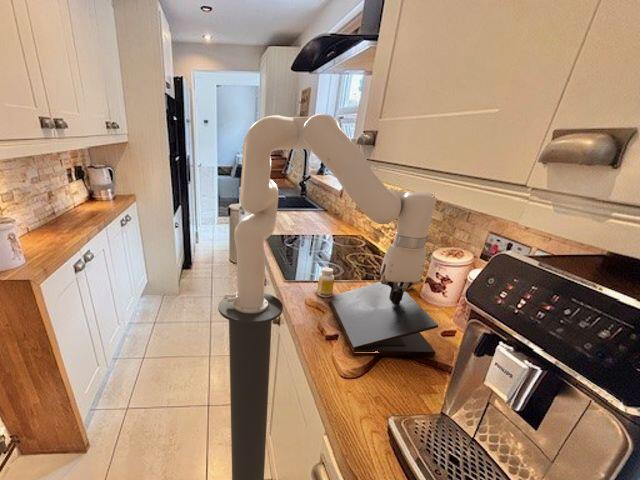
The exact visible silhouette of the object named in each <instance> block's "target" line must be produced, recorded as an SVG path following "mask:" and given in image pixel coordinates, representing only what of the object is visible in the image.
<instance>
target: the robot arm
mask: <svg viewBox="0 0 640 480" xmlns="http://www.w3.org/2000/svg"><path fill="white" fill-rule="evenodd" d="M285 150H310V151H311V153H313V154H314V156H316V157H317V159H319V161H320V162H321V163H322V164H323V165H324V167H326V168H327V169H328V170H329V172H330V173H331V174H332V175H333V176H334V177H335V178H336V180H337V181H338V183H339V185H340V186H341V187H342V188H343V189H344V191H345V192H346V193H347V195H348V196H349V198H350V199H351V201H353V202H354V204H355V205H356V206H357V207H358V208H359V209H360V210H361V211H362V213H363V214H365V216H366V217H367V218H368V219H369V220H371V221H372V222H373V223H375V224H378V225H388V224H390V223H393V222H394V221H396V219H398V220H397V223H396V224H397V225H396V229H395V233H394V237H393V243H392V242H391V243H389V245H388V247H387V250H386V252H385V254H384V257H383V259H382V260H383V261H382V264H381V266H380V272H379V274H380V276H381V277H380V279H379V282H381V284H385V285H389V286H390V287H391V292H390V296H389V299H390V300H391V302H392V303H393V304H400V301H401V300H402V297H403V293H404V292H405V291H406V292H407V290H409V289H408V288H409V287H410V286H412V285H414V286H417V285H419V284H421V280H422V278H423V275H424V271H425V266H426V259H427V247H426V244H427V243H431V241H432V238H431V236H428V234H429V230H430V226H431V222H432V219H433V215H434V211H435V207H436V203H437V197H436V198H435V196H436V195H435V196H433V195H434V194H433V193H430V192H426V191H425V192H423V191H411V192H409V191H402V190H397V189H393V188H387V185H385V184H384V183H383V182H382V181H381V180H380V178H378V176H377V175H376V173H375V172H374V171H373V170H372V168H371V166H370V164H369V162H368V159H367V157H366V155H365V153H364V152H363V151H362V150H361V148H359V146H358V145H356V144H355V143H354V141H353V140H352V139H351V138H350V137H349V136H348V135H347V133H345V132H344V130H343V129H342V128H341V127H340V123H339V122H338V120H337V119H336V118H335V117H334V116H333V115H330V114H327V113H323V112H322V113H320V112H319V113H315V114H313V115H312V116H283V115H278V114H277V115H274V114H273V115H268V116H264V117H262V118H260V119H259V120H257V121H255V122H254V123H253V124H252V125H251V126H250V127H249V129H248V130H247V132H246V134H245V137H244V140H243V145H242V162H241V163H242V165H241V175H240V190H239V191H240V192H239V202H240V205H241V208H242V209H243V210H244V211H245V212H246V213H249V215H248V216H246V217H244V218H243V219H241V220H240V221H239V222H238V223H237V224H236V226H235V228H234V233H233V234H234V235H233V237H234V243H235V250H236V292H233V293H234V294H233V293H224V297H225V299H228V302H231V301H233V307H234V308H235V309H236V310H237V311H239V312H242V313H250V314H253V313H259V312H262V311H264V310H266V309H267V307H268V301H267V300H266V299H265V298H264V293H265V281H266V251H265V243H264V242H265V241H266V240H267V239H269V238H270V237H271V236H272V235H273V233H274V231H275V229H276V224H277V216H278V215H277V214H278V206H279V189H278V186H277V184H276V183H275V182H274V180H272V179H271V172H272V158H271V155H272V153H273V152H275V151H285ZM429 195H430V196H429ZM431 196H433V197H431ZM398 282H400V283H399V285H398Z"/></svg>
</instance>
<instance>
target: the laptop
mask: <svg viewBox="0 0 640 480" xmlns="http://www.w3.org/2000/svg"><path fill="white" fill-rule="evenodd" d="M329 305H330V307H331V309H332V312H333V314H334V316H335V318H336V320H337V322H338V325H339V327H340V329H341V332H342V334H343V336H344V338H345V340H346V343H347V345H348V347H349V349H350V352H351V354H352V356H356V357H357V356H358V357H402V358H403V357H404V358H405V357H406V358H435V356H436V352H437V351H436V350H435V349H434V348H433V347H432V346H431V344H430V343H429V342H428V341H427V339H426V338H425V337H424V336H423V334H421V332H419V333H416V334H412V335H408V336H404V337H400V338H397V339H393V340H389V341H385V342H381V343H377V344H374V345H370V346H366V347H362V348H358V349H355V350H354V348H353V346H352V344H351V342H350V340H349V338H348V335H347V333H346V331H345V329H344V327H343V325H342V322H341V320H340V318H339V316H338V314H337V312H336V310H335V307H334V305H333V303H332V301H331V299H330V298H329ZM350 345H351V346H350ZM351 347H352V348H351ZM352 349H353V350H352ZM375 351H378V352H380V353H354V352H375Z"/></svg>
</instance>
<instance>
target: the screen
mask: <svg viewBox="0 0 640 480" xmlns="http://www.w3.org/2000/svg"><path fill="white" fill-rule="evenodd" d="M398 285H399V284H398ZM390 292H391V287H390V286H389V285H385V284H381V282H380V281H377V282H374V283H369V284H366V285H364V286H360V287H357V288H353V289H351V290H350V289H349V290H346V291H344V292H343V291H342V292H340V293H337V294H334V295H333V294H332V296H330V297H329V300H330V299H331V301H332V303H333V305H334V307H335V310H336V312H337V314H338V316H339V318H340V320H341V322H342V325H343V327H344V329H345V331H346V333H347V335H348V338H349V340H350V342H351V344H352V346H353V348H354V350H355V349H358V348H362V347H366V346H370V345H374V344H377V343H381V342H385V341H389V340H393V339H397V338H400V337H404V336H408V335H412V334H416V333H419V332H420V333H423V332H427V331H431V330H434V329H435V330H436V329H438V328H439V324H438V323H437V322H436V321H435V320H434V319H433V318H432V317H431V316H430V315H429V314H428V312H426V311H425V310H424V309H423V308H422V307H421V305H419V303H418V302H417V301H416V300H415V299H414V298H413V297H412V296H411V295H410V294H409V293H408V292H407V290H406V291H405V292H404V293H403V297H402V300H401V301H400V304H393V303H392V302H391V300H390V299H389V296H390Z"/></svg>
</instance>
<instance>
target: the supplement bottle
mask: <svg viewBox="0 0 640 480" xmlns="http://www.w3.org/2000/svg"><path fill="white" fill-rule="evenodd" d="M334 284H335V275H334V268H332V267H322V268H321V273H320V274H319V276H318V282H317V290H316V294H317V295H318V296H319V297H322V298H330V296H333V292H334Z"/></svg>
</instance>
